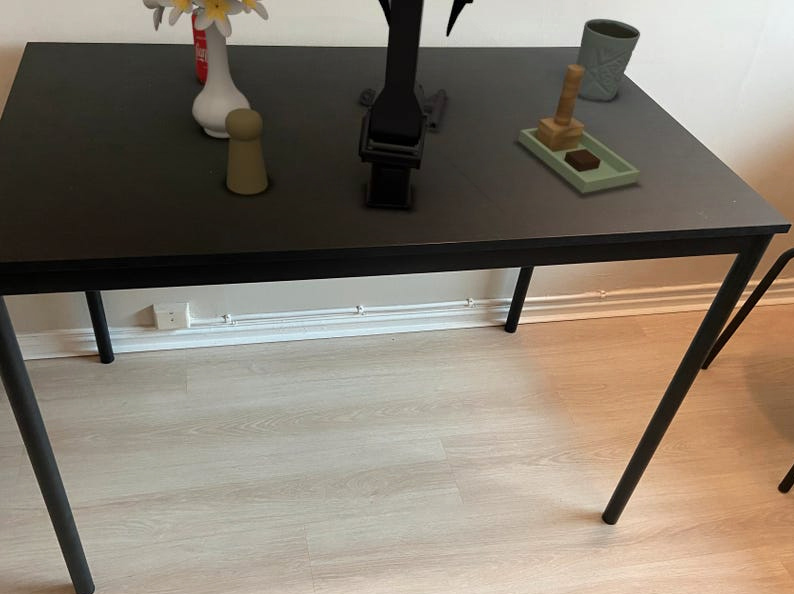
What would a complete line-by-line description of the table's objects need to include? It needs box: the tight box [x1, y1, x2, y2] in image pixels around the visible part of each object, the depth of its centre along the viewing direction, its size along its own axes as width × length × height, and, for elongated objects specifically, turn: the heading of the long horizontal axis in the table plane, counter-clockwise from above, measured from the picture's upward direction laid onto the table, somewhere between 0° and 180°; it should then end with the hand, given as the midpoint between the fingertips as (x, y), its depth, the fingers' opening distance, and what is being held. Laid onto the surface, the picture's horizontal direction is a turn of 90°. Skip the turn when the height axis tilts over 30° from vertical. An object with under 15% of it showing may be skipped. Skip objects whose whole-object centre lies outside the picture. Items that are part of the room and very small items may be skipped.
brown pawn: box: [225, 108, 269, 195], centre depth 101 cm, size 6×6×11 cm
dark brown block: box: [564, 149, 601, 172], centre depth 114 cm, size 4×4×2 cm
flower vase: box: [142, 0, 269, 139], centre depth 108 cm, size 13×18×25 cm
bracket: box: [359, 87, 447, 130], centre depth 126 cm, size 14×15×3 cm
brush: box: [536, 63, 585, 152], centre depth 115 cm, size 6×4×13 cm
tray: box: [518, 127, 641, 194], centre depth 116 cm, size 18×11×2 cm, turn 24°
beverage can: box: [190, 7, 208, 85], centre depth 127 cm, size 5×5×12 cm
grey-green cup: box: [576, 18, 641, 102], centre depth 134 cm, size 10×10×12 cm
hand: (419, 32), depth 115 cm, fingers open, 9 cm apart
